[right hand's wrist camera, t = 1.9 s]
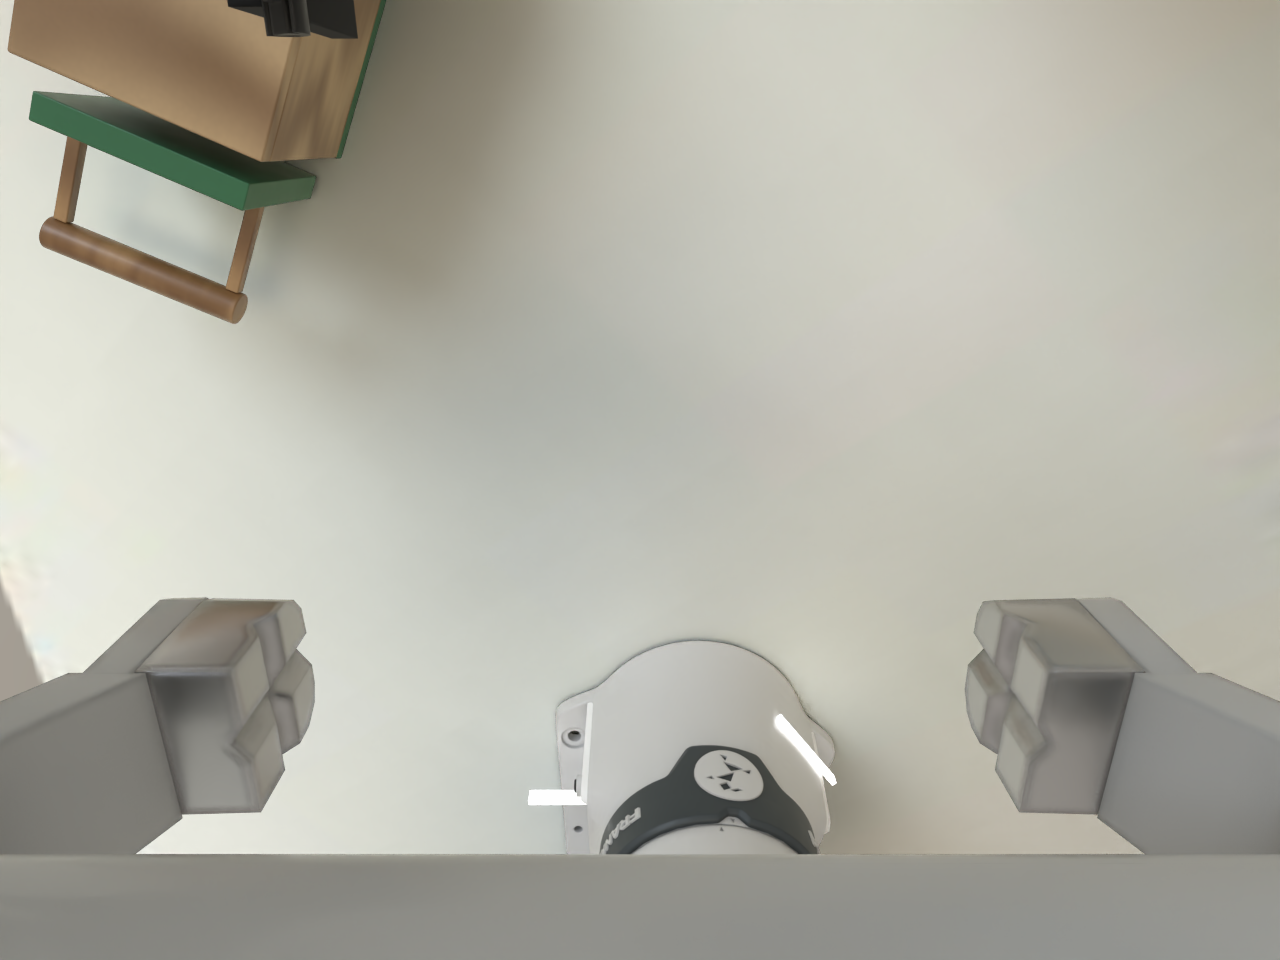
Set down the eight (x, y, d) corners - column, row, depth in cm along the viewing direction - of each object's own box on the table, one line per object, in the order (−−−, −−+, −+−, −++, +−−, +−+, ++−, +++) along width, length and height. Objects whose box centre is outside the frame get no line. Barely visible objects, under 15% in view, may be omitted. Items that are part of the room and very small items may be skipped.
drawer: (281, 304, 46) (211, 336, 38) (113, 234, 44) (6, 254, 37) (406, -145, 38) (349, -214, 31) (208, -244, 37) (99, -341, 29)
